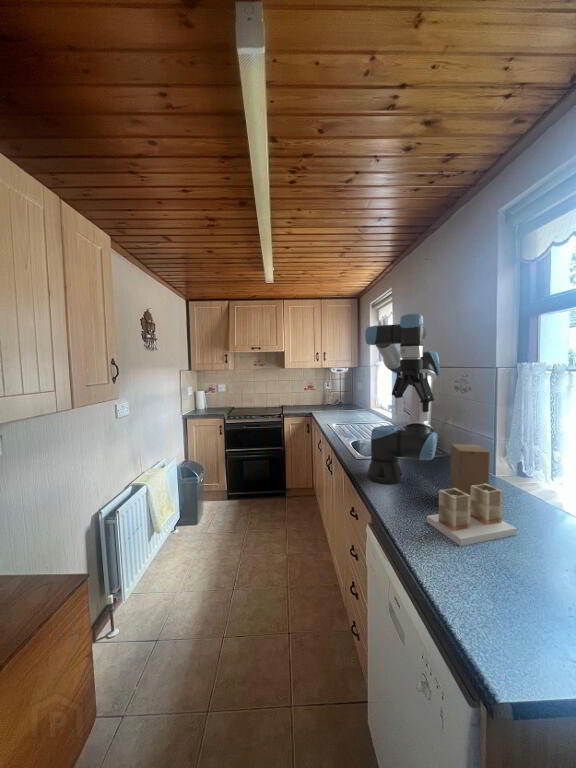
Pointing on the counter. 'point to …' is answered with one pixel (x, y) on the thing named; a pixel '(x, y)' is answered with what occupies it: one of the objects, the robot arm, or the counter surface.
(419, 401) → the robot arm
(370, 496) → the counter surface
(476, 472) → the wooden block
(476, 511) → the sleeve seated
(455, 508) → the sleeve
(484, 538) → the pin board
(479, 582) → the counter surface
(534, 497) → the counter surface
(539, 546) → the counter surface
